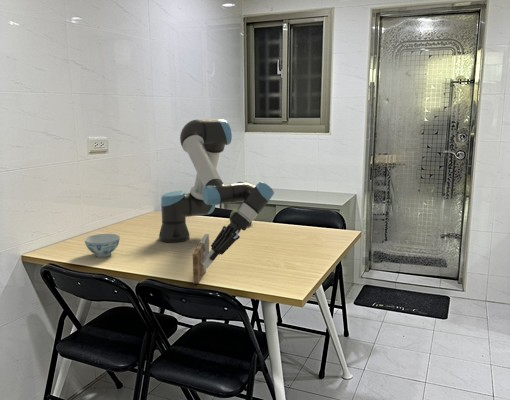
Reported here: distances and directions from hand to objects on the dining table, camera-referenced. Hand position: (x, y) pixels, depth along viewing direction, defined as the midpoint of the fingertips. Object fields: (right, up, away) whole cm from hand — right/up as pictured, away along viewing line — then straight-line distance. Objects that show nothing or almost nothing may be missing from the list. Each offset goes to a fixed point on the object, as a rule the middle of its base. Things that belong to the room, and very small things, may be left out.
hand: (204, 265), depth 177 cm
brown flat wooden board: (-2, -5, +4) cm, 6 cm away
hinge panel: (-1, -3, +16) cm, 16 cm away
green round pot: (+11, +11, +86) cm, 87 cm away
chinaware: (-49, 0, +32) cm, 58 cm away
